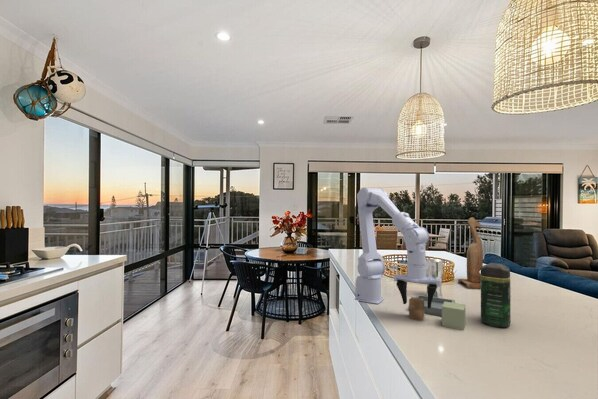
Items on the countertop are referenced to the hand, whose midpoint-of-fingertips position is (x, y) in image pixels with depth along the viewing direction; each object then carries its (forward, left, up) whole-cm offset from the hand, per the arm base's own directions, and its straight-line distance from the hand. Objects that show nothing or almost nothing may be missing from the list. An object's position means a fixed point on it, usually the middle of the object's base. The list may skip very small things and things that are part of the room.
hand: (416, 305), depth 100 cm
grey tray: (+3, +12, -4) cm, 13 cm away
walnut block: (0, 0, -4) cm, 4 cm away
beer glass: (+1, +28, -4) cm, 28 cm away
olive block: (+11, 0, -4) cm, 12 cm away
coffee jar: (+22, +9, -4) cm, 24 cm away
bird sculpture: (+14, +56, -4) cm, 58 cm away
